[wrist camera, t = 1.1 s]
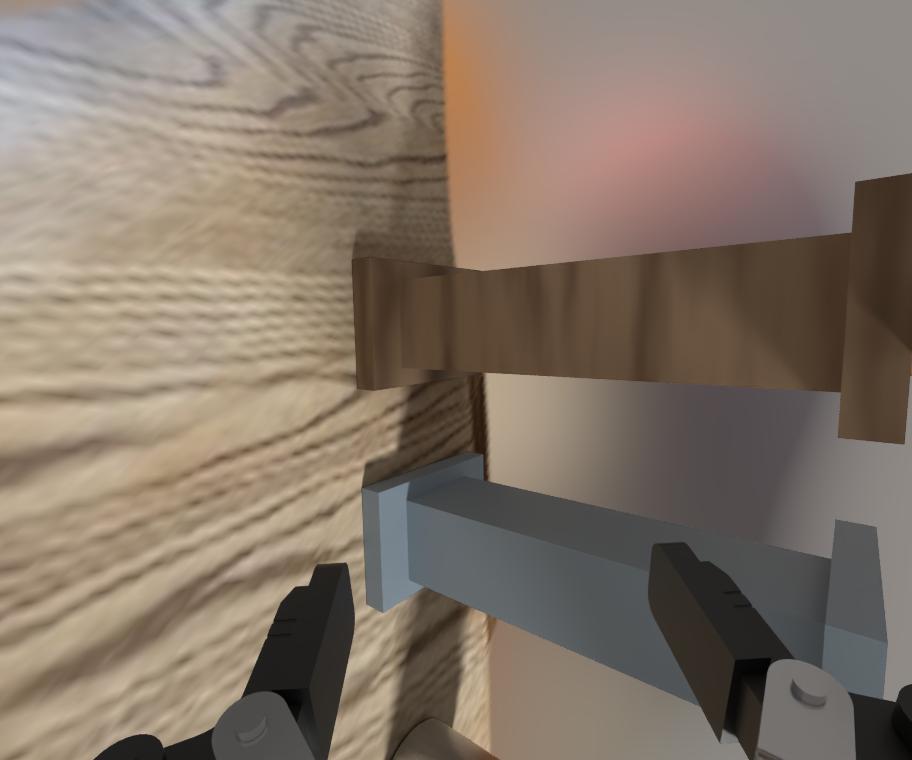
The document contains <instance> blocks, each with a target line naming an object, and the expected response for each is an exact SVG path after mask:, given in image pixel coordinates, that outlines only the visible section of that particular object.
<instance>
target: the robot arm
mask: <svg viewBox="0 0 912 760" xmlns="http://www.w3.org/2000/svg"><path fill="white" fill-rule="evenodd" d="M648 600H649V605H650V609H651V612H652V615H653V617H654V619H655V621H656V623H657V625H658V627H659V628H660V630H661V632H662V634H663V636H664V638H665V640H666V642H667V644H668V646H669V647H670V649H671V651H672V653H673V655H674V657H675V659H676V661H677V663H678V665H679V667H680V668H681V670H682V672H683V674H684V676H685V678H686V680H687V682H688V684H689V686H690V687H691V689H692V691H693V693H694V695H695V697H696V699H697V701H698V703H699V705H700V706H701V708H702V710H703V712H704V714H705V716H706V718H707V720H708V722H709V723H710V725H711V727H712V729H713V731H714V733H715V735H716V737H717V739H718V740H719V742H720V744H723V743H740V744H741V746H742V748H743V750H744V751H745V753H746V755H747V757H748V759H749V760H912V684H910V685H907V686H905V687H903V688H902V689H901V690H900V691H899V695H898V697H897V700H896V702H893V701H888V700H883V699H879V698H874V697H869V696H865V695H860V694H855V693H851V692H847V691H846V690H845V689H844V687H843V686H842V685H841V684H840V683H839V682H838V681H837V680H836V679H835V678H833V677H832V676H831V675H829V674H828V673H826V672H825V671H823V670H822V669H820V668H818V667H816V666H814V665H811V664H809V663H806V662H803V661H799V660H796V659H795V658H794V657H793V656H792V654H791V653H790V652H789V650H788V649H787V648H786V647H785V645H784V644H783V643H782V642H781V640H780V639H779V638H778V637H777V635H776V634H775V633H774V632H773V630H772V629H771V628H770V627H769V625H768V624H767V623H766V622H765V620H764V619H763V618H762V616H761V615H760V614H759V613H758V611H757V610H756V609H755V608H753V607H752V604H751V603H750V601H749V600H748V599H747V598H746V596H745V595H744V594H742V593H741V590H740V589H739V588H738V586H737V585H736V584H735V582H734V581H733V580H732V579H731V577H730V576H729V575H728V574H727V573H725V572H724V571H722V570H721V569H720V568H718V567H717V566H715V565H714V564H713V563H711V562H710V561H701V562H700V561H699V559H698V558H697V557H696V555H695V554H694V553H693V551H692V550H691V548H690V547H689V546H688V545H687V544H686V543H685V542H671V543H655V544H654V545H653V547H652V551H651V562H650V572H649V582H648ZM354 625H355V612H354V604H353V597H352V590H351V583H350V576H349V570H348V565H347V563H331V564H318V565H316V567H315V569H314V572H313V575H312V578H311V581H310V583H309V586H298V587H295V588H294V589H293V590H292V591H291V592H290V593H289V594H288V595H287V596H286V598H285V599H284V600H283V601H282V602H281V603H280V606H279V608H278V611H277V613H276V616H275V618H274V623H273V624H272V625H271V628H270V630H269V633H268V635H267V636H268V637H267V639H266V640H265V642H264V645H263V647H262V649H261V652H260V654H259V657H258V659H257V662H256V664H255V666H254V669H253V671H252V674H251V676H250V679H249V681H248V683H247V686H246V688H245V691H244V693H243V695H242V697H241V699H240V700H238V701H237V702H235V703H234V704H233V705H231V706H230V707H229V708H228V709H227V710H226V711H225V712H224V713H223V715H222V716H221V717H220V718H219V720H218V722H217V724H216V725H215V727H213V728H212V729H210V730H208V731H206V732H205V733H202V734H200V735H198V736H195V737H193V738H190V739H187V740H184V741H182V742H179V743H176V744H173V745H171V746H168V747H165V748H163V746H162V743H161V742H160V740H159V739H157V738H156V737H154V736H152V735H147V734H139V735H134V736H131V737H128V738H125V739H123V740H120V741H118V742H117V743H115V744H113V745H111V746H110V747H108V748H107V749H106V750H104V751H103V752H102V753H100V754H99V755H98V756H97V757H96V758H95V759H94V760H327V759H328V755H329V750H330V745H331V740H332V736H333V731H334V726H335V721H336V716H337V712H338V707H339V702H340V697H341V692H342V688H343V683H344V678H345V673H346V668H347V664H348V659H349V654H350V649H351V645H352V640H353V635H354ZM393 760H499V759H498V758H497V757H495V756H493V755H492V754H491V753H489V752H487V751H486V750H484V749H483V748H481V747H480V746H478V745H477V744H475V743H474V742H472V741H471V740H469V739H468V738H466V737H465V736H463V735H462V734H460V733H459V732H457V731H456V730H454V729H452V728H451V727H449V726H448V725H446V724H445V723H443V722H442V721H440V720H438V719H436V718H434V719H428V720H425V721H423V722H422V723H420V724H419V725H417V726H416V727H415V728H414V729H413V730H412V731H411V732H410V733H409V734H408V736H407V737H406V738H405V740H404V741H403V742H402V744H401V745H400V747H399V749H398V750H397V752H396V753H395V755H394V757H393Z"/></svg>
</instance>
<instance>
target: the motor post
mask: <svg viewBox="0 0 912 760" xmlns="http://www.w3.org/2000/svg"><path fill="white" fill-rule="evenodd" d="M362 505H363V528H364V551H365V574H366V597H367V605H369V606H371V607H373V608H375V609H376V610H378V611H380V612H382V613H384V612H386V611H387V610H389V609H390V608H392V607H394V606H395V605H397V604H398V603H400V602H402V601H403V600H405V599H406V598H408V597H410V596H411V595H413V594H414V593H416V592H418V591H419V590H421V589H422V588H424V587H426V588H428V589H431V590H433V591H435V592H438V593H440V594H442V595H445V596H447V597H449V598H451V599H454V600H456V601H458V602H461V603H463V604H465V605H468V606H470V607H472V608H475V609H477V610H479V611H481V612H484V613H486V614H488V615H491V616H493V617H495V618H498V619H500V620H502V621H504V622H507V623H509V624H511V625H514V626H516V627H518V628H521V629H523V630H525V631H527V632H530V633H532V634H534V635H537V636H539V637H541V638H544V639H546V640H548V641H551V642H553V643H555V644H558V645H560V646H562V647H564V648H567V649H569V650H571V651H574V652H576V653H578V654H580V655H583V656H585V657H587V658H590V659H592V660H594V661H596V662H599V663H601V664H603V665H606V666H608V667H610V668H613V669H615V670H617V671H620V672H622V673H624V674H626V675H629V676H631V677H633V678H636V679H638V680H640V681H643V682H645V683H647V684H650V685H652V686H654V687H657V688H659V689H661V690H663V691H666V692H668V693H670V694H673V695H675V696H677V697H679V698H682V699H684V700H686V701H689V702H691V703H693V704H695V705H698V706H700V705H699V703H698V701H697V699H696V697H695V695H694V693H693V691H692V689H691V687H690V686H689V684H688V682H687V680H686V678H685V676H684V674H683V672H682V670H681V668H680V667H679V665H678V663H677V661H676V659H675V657H674V655H673V653H672V651H671V649H670V647H669V646H668V644H667V642H666V640H665V638H664V636H663V634H662V632H661V630H660V628H659V627H658V625H657V623H656V621H655V619H654V617H653V615H652V612H651V609H650V605H649V600H648V582H649V572H650V562H651V551H652V547H653V545H654V544H655V543H671V542H685V543H686V544H687V545H688V546H689V547H690V548H691V550H692V551H693V553H694V554H695V555H696V557H697V558H698V559H699V561H700V562H701V561H710V562H711V563H713V564H714V565H715V566H717V567H718V568H720V569H721V570H722V571H724V572H725V573H727V574H728V575H729V576H730V577H731V579H732V580H733V581H734V582H735V584H736V585H737V586H738V588H739V589H740V590H741V593H742V594H744V595H745V596H746V598H747V599H748V600H749V601H750V603H751V604H752V607H753V608H755V609H756V610H757V611H758V613H759V614H760V615H761V616H762V618H763V619H764V620H765V622H766V623H767V624H768V625H769V627H770V628H771V629H772V630H773V632H774V633H775V634H776V635H777V637H778V638H779V639H780V640H781V642H782V643H783V644H784V645H785V647H786V648H787V649H788V650H789V652H790V653H791V654H792V656H793V657H794V658H795V659H796V660H799V661H803V662H806V663H809V664H811V665H814V666H816V667H818V668H820V669H822V670H823V671H825V672H826V673H828V674H829V675H831V676H832V677H833V678H835V679H836V680H837V681H838V682H839V683H840V684H841V685H842V686H843V687H844V689H845V690H846V691H847V692H851V693H855V694H860V695H865V696H869V697H874V698H879V699H883V694H884V682H885V670H886V658H887V645H888V642H887V632H886V621H885V610H884V600H883V590H882V579H881V570H880V559H879V549H878V538H877V529H876V527H873V526H868V525H863V524H857V523H851V522H847V521H840V520H835V531H834V541H833V551H832V559H828V558H824V557H819V556H815V555H811V554H806V553H802V552H797V551H793V550H789V549H784V548H780V547H775V546H771V545H767V544H762V543H757V542H753V541H749V540H744V539H740V538H736V537H731V536H727V535H722V534H718V533H713V532H709V531H705V530H700V529H696V528H691V527H687V526H683V525H678V524H674V523H669V522H665V521H660V520H656V519H652V518H647V517H643V516H638V515H634V514H629V513H625V512H620V511H616V510H612V509H607V508H603V507H599V506H594V505H590V504H585V503H581V502H576V501H572V500H568V499H563V498H558V497H554V496H549V495H545V494H540V493H537V492H532V491H528V490H523V489H519V488H515V487H510V486H506V485H501V484H496V483H492V482H488V481H484V468H483V454H479V453H473V452H468V451H467V452H464V453H462V454H459V455H456V456H453V457H450V458H447V459H444V460H441V461H438V462H436V463H433V464H430V465H427V466H424V467H421V468H418V469H415V470H413V471H410V472H407V473H404V474H401V475H398V476H395V477H392V478H390V479H387V480H384V481H381V482H378V483H375V484H372V485H369V486H366V487H364V488H362ZM700 707H701V706H700Z"/></svg>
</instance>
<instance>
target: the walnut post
mask: <svg viewBox="0 0 912 760" xmlns="http://www.w3.org/2000/svg"><path fill="white" fill-rule="evenodd" d="M352 274H353V297H354V320H355V343H356V366H357V389H364V390H373V391H375V390H382V389H388V388H395V387H401V386H408V385H414V384H421V383H427V382H434V381H440V380H447V379H453V378H460V377H466V376H473V375H479V374H482V372H484V373H503V374H520V375H539V376H557V377H575V378H592V379H593V378H594V379H611V380H629V381H646V382H665V383H684V384H701V385H719V386H737V387H755V388H773V389H792V390H809V391H827V392H841V399H840V414H839V429H838V438H845V439H855V440H865V441H875V442H884V443H895V444H904V443H905V432H906V420H907V407H908V396H909V384H910V372H911V360H912V173H911V174H904V175H897V176H891V177H884V178H878V179H871V180H866V181H858V182H855V195H854V210H853V225H852V233H844V234H834V235H826V236H815V237H806V238H796V239H786V240H777V241H767V242H758V243H748V244H738V245H729V246H720V247H710V248H700V249H691V250H681V251H672V252H662V253H652V254H643V255H634V256H624V257H614V258H605V259H595V260H585V261H576V262H566V263H558V264H547V265H537V266H528V267H519V268H510V269H499V270H490V271H478V270H470V269H462V268H454V267H446V266H438V265H430V264H422V263H413V262H405V261H397V260H389V259H381V258H372V257H367V258H360V259H354V260H352Z"/></svg>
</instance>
